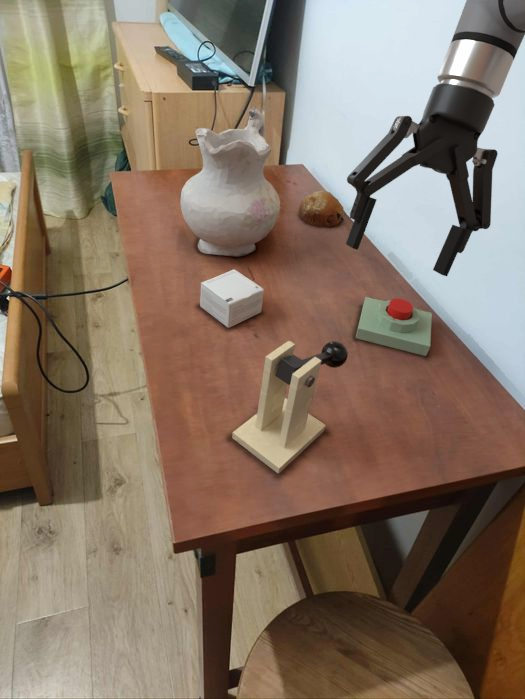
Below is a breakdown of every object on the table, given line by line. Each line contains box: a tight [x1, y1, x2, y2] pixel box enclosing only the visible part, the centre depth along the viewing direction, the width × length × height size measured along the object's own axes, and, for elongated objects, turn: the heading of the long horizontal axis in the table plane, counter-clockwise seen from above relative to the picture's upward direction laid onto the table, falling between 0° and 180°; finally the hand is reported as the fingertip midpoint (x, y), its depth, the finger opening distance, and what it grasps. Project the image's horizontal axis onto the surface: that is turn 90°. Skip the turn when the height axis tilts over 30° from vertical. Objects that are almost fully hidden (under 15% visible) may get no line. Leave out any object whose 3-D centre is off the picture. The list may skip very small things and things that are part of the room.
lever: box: [275, 340, 349, 386], centre depth 65 cm, size 14×4×4 cm, turn 139°
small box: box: [199, 268, 265, 329], centre depth 87 cm, size 8×8×5 cm
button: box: [387, 298, 414, 320], centre depth 86 cm, size 4×4×2 cm
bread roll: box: [298, 190, 346, 228], centre depth 118 cm, size 10×10×8 cm
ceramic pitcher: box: [179, 106, 281, 257], centre depth 99 cm, size 22×20×25 cm
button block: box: [355, 296, 433, 357], centre depth 88 cm, size 12×10×4 cm
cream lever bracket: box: [232, 340, 326, 474], centre depth 64 cm, size 10×8×14 cm
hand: (396, 260), depth 68 cm, fingers open, 13 cm apart
